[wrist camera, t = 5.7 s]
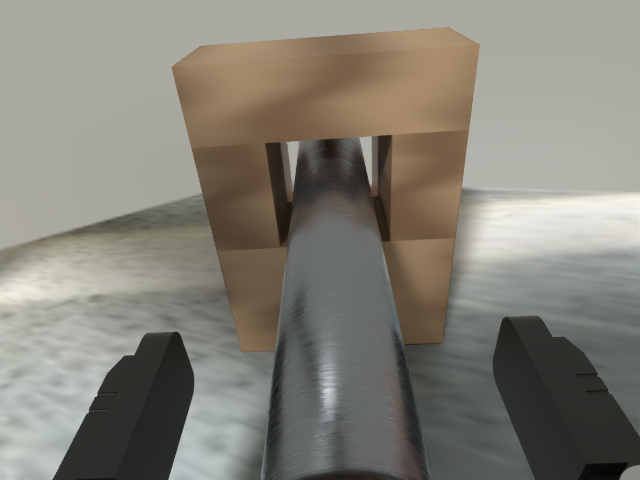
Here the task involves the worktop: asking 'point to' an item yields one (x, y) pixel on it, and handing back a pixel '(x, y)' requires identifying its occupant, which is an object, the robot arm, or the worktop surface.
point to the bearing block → (330, 123)
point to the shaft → (339, 337)
